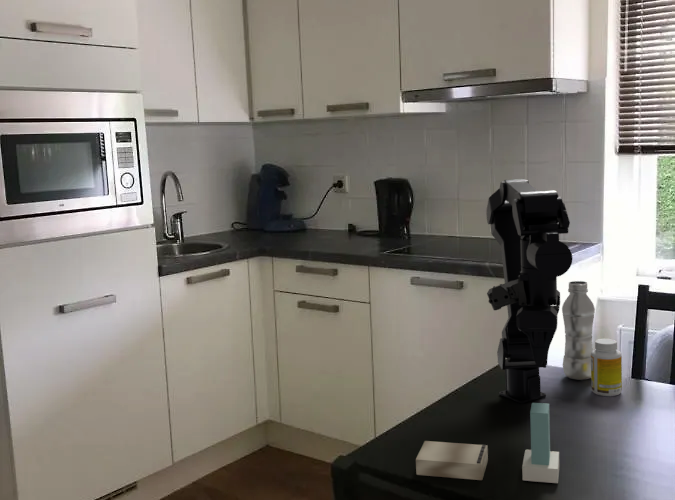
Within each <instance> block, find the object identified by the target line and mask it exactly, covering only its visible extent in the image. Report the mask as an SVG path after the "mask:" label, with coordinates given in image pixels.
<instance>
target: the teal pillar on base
mask: <svg viewBox="0 0 675 500" xmlns="http://www.w3.org/2000/svg"><path fill="white" fill-rule="evenodd" d="M529 414H530V415H529V417H530V419H529V420H530V449H525V451H524V454H523V455H524V456H523V460H522V466H521V469H522V481H526V482H527V481H528V482H536V483H537V482H538V483H552V484H559V475H560V451H553V450H552V451H551V425H550V424H551V423H550V421H551V420H550V403H546V402H545V403H543V402H531V407H530V410H529Z"/></svg>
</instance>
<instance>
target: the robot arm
mask: <svg viewBox="0 0 675 500" xmlns="http://www.w3.org/2000/svg"><path fill="white" fill-rule="evenodd" d="M486 206H487V207H486V221H487V225H490V233H491V236H492V237H493V238H494V239H495V241H496V242H497V243H498V244H499V246H500V250H501V251H500V252H501V259H502V269H503V276H504V277H503V279H504V283H499V285H496V286H495V285H494V286H493V287H492V288H491V287H490V288H489V289H488V291H487V293H486V295H487V298H488V303H489V304H490V305H491V307H492V309H493V311H498V310H501V309H502V308H504V307H506V308H507V317H508V318H507V320H506V322H505V324H504V327H503V329H502V330H501V338H500V339H499V343H498V347H497V350H496V352H497V353H496V354H497V355H496V356H497V363H498V365H499V367H500V369H501V370H502V371H503V370H504V379H505V384H504V385H505V387H504V388H505V389H504V390H501V391H499V395H500V396H502V397H504V398H506V399H509V400H512V401H513V402H516V403H519V404H525V403H528V402H531V401H535V400H539V399H542V398H546V396H547V394H546V393H545V392H542V391H541V376H540V368H543V369H545V368H547V365H548V359H549V358H548V357H549V356H548V355H549V349H550V346H551V344H552V341H553V339H554V336H555V334H556V332H557V330H558V329H557V328H558V316H559V315H558V314H559V311H560V306H561V292H560V290H558V289H557V288H558V286H557V285H558V284H557V279H558V278H559V277H561V276H563V275H565V274H566V273H568V271H569V269H571V266H572V263H573V254H572V252H571V248H569V246H568V245H567V244H566V243H565V242H562V241H561V240H560V235H561V234H569V228H570V225H571V221H570V217H569V214H568V212H567V211H568V210H567V208H566V204H565V203H564V202H563V198H562V197H561V196H559V194H558V192H557V190H553V189H551V190H547V189H546V190H538V189H537V188H536V187H534V186H533V185H532V184H530V182H529V179H525V178H515V179H511V178H510V179H504V180H502V181H500V183H499V188H498V189H497V190H496V191H494V193H492V194H491V195H490V196H489V197H488V201H487V205H486Z"/></svg>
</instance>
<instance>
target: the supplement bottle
mask: <svg viewBox="0 0 675 500" xmlns="http://www.w3.org/2000/svg"><path fill="white" fill-rule="evenodd" d="M622 358H623V357H622V352H621V351H620V350H618V341H617V340H615V339H611V338H598V339H595V341H594V348H593V350H592V352H591V378H590V379H591V382H590V383H591V384H590V386H591V391H592V392H593V393H594V394H596V395H598V396H602V397H614V396H618V395H620V394H622V391H623V387H622V385H623V376H622V375H623V374H622V373H623V372H622V371H623V370H622V369H623V368H622V367H623V366H622V365H623V364H622V363H623V362H622Z"/></svg>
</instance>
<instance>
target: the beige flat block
mask: <svg viewBox="0 0 675 500" xmlns="http://www.w3.org/2000/svg"><path fill="white" fill-rule="evenodd" d="M488 455H489V448H488V444H487V445H486V444H475V443H474V444H472V443H462V442H461V443H460V442H459V443H458V442H445V441H430V440H424V441H423V444H422V446H421V448H420V450H419V452H418V454H417V456H416V458H415V469H416V471H415V472H416V473H415V474H416V475H417V476H428V477H429V476H430V477H439V478H440V477H442V478H451V479H464V480H472V481H473V480H474V481H475V480H477V481H483V478H484V476H485V472H486V468H487V465H488V461H489V458H488V457H489V456H488Z"/></svg>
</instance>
